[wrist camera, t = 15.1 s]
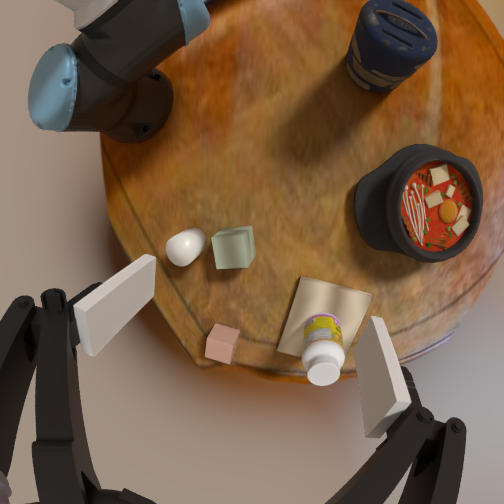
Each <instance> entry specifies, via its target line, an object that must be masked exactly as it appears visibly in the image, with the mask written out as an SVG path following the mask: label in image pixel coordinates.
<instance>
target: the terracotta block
mask: <svg viewBox="0 0 504 504" xmlns="http://www.w3.org/2000/svg"><path fill="white" fill-rule="evenodd" d="M239 332H240V330H236V329H233V328H229V327H226V326H223V325H219V324H216V323H215V325H214V327H213V328H212V330H211V332H210V334H209V335H208V337H207V344H206V351H205V357H207V358H210V359H213V360H217V361H220V362H223V363H226V364H230V362H231V360H232V357H233V355H234V353H235V350H236V346H237V341H238V337H239Z"/></svg>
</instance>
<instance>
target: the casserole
mask: <svg viewBox="0 0 504 504" xmlns="http://www.w3.org/2000/svg"><path fill="white" fill-rule="evenodd" d="M482 206H483V191H482V185H481V181H480V178H479V175H478V172H477V170H476V168H475V167H474V165H473V164H472V163H471V162H470V161H469V160H468V159H465V158H462V157H459V156H456V155H454V154H452V153H450V152H448V151H446V150H442V149H440V148H438V147H435V146H432V145H427V144H415V145H411V146H407V147H405V148H403V149H401V150H399V151H397V152H396V153H395V154H394V155H393V156H392V157H390V158H389V159H388V160H387V161H386V162H385V163H384V164H383V165H382V166H380V167H379V168H377V169H375V170H374V171H372V172H370V173H369V174H367V175H365V176H363V177H362V179H361V180H360V181H359V183H358V184H357V187H356V191H355V195H354V213H355V219H356V223H357V226H358V229H359V231H360V233H361V235H362V237H363V239H364V240H365V241H366V243H367V244H368V245H369V246H371V247H372V248H374V249H376V250H384V251H393V252H397V253H400V254H403V255H406V256H410V257H412V258H414V259H416V260H419V261H422V262H429V263H435V262H442V261H444V260H447V259H450V258H452V257H455V256H456V255H458V254H459V253H461V252H462V251H463V250H464V249H465V248H466V247H467V246H468V245H469V244H470V242H471V241H472V239H473V238H474V236H475V234H476V232H477V229H478V226H479V223H480V219H481V213H482Z"/></svg>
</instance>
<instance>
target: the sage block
mask: <svg viewBox="0 0 504 504" xmlns="http://www.w3.org/2000/svg"><path fill="white" fill-rule="evenodd" d="M211 239H212V245H213V251H214V256H215V262H216V267H217V269H229V268H248V267H249V266H250V264H251V262H252V260H253V259H254V257H255V255H256V253H255V246H254V239H253V231H252V226H245V227H234V228H224V229H222V230H220V231H219V232H218V233H217V234H215V235H214V236H213V237H212V238H211Z"/></svg>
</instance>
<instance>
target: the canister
mask: <svg viewBox="0 0 504 504" xmlns="http://www.w3.org/2000/svg"><path fill="white" fill-rule="evenodd" d="M436 49H437V35H436V31H435V29H434V27H433V25H432V23H431V22H430V20H429V19H428V18H427V17H426V16H425V14H424V13H423V12H422V11H420V10H419V9H418V8H416V7H415V6H413V5H412V4H410V3H408V2H406V1H403V0H370V1H368V2H367V3H366V4H365V5H364V6H363V7H362V9H361V11H360V14H359V17H358V21H357V24H356V27H355V30H354V34H353V36H352V39H351V42H350V45H349V49H348V52H347V55H346V67H347V70H348V72H349V74H350V76H351V78H352V79H353V80H354V81H355V82H356V83H357V84H358V85H359V86H361V87H362V88H364V89H366V90H368V91H372V92H376V93H385V92H389V91H392V90H393V89H395V88H396V87H398V86H399V85H400V84H401V83H402V82H403V81H405V80H406V79H407V78H409V77H410V76H411V75H412V74H413V73H414V72H416V71H417V70H418V69H419V68H420V67H421V66H423V65H424V64H425V63H426V62H427V61H428V60H429V59H430V58H431V57H432V56H433V55H434V53H435V51H436Z"/></svg>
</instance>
